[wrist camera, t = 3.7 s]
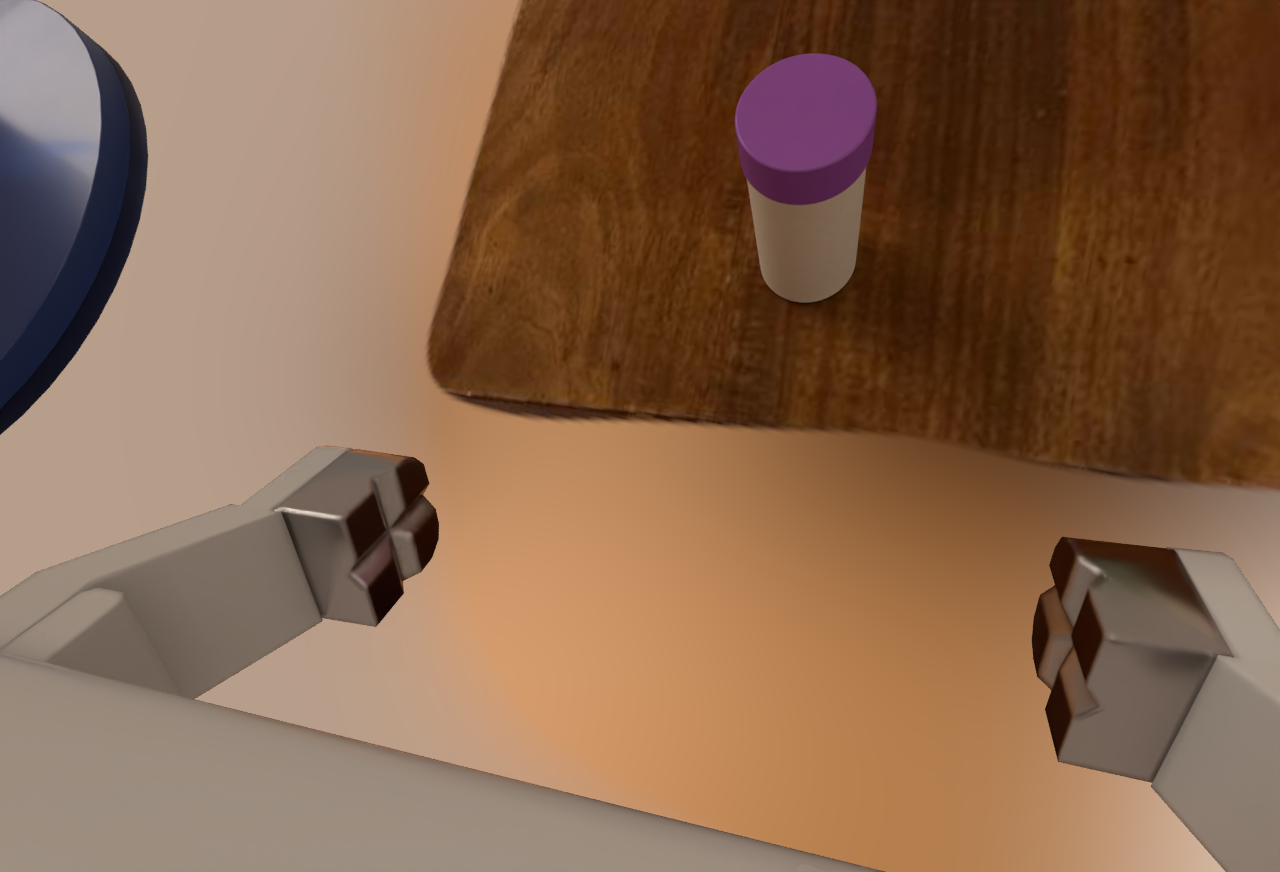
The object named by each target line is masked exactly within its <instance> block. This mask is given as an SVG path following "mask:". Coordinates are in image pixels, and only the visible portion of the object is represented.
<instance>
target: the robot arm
mask: <svg viewBox="0 0 1280 872" xmlns="http://www.w3.org/2000/svg"><path fill="white" fill-rule="evenodd" d="M428 485H429V481H428V478H427V474H426V471H425V467H424V464H423V463H421V462H420V461H419V460H417V459H416V458H414V457H407V456H400V455H393V454H387V453H380V452H373V451H366V450H359V449H355V450H354V449H351V448H344V447H335V446H322V447H316V448H315V449H313V450H312V451H311V452H309V453H308V454H307V455H306V456H304V457H303V458H302V459H300V460H299V461H298V462H297V463H295V464H294V465H293V466H291V467H290V468H289V469H287V470H286V471H285V472H283V473H282V474H281V475H279V476H278V477H277V478H276V479H274V480H273V481H272V482H270V483H269V484H268V485H266V486H265V487H264V488H262V489H261V490H260V491H258V492H257V493H256V494H255V495H253V496H252V497H251V498H249V499H248V500H247V501H245V502H244V503H243V504H241V505H233V504H230V505H227V506H225V507H222V508H219V509H216V510H213V511H211V512H208V513H204V514H202V515H199V516H196V517H193V518H190V519H187V520H184V521H181V522H179V523H176V524H173V525H170V526H167V527H165V528H161V529H159V530H156V531H153V532H150V533H147V534H144V535H141V536H138V537H136V538H133V539H130V540H127V541H124V542H121V543H118V544H116V545H112V546H110V547H107V548H104V549H101V550H98V551H95V552H92V553H90V554H87V555H84V556H81V557H78V558H75V559H73V560H69V561H67V562H64V563H61V564H58V565H55V566H52V567H49V568H47V569H44V570H41V571H38V572H36V573H34V574H33V575H31V576H30V577H28V578H27V579H25V580H24V581H22V582H21V583H19V584H18V585H16V586H15V587H13V588H12V589H10V590H9V591H7V592H6V593H4V594H3V595H1V596H0V872H884V871H880V870H876V869H872V868H868V867H864V866H860V865H856V864H852V863H848V862H844V861H840V860H835V859H831V858H828V857H824V856H819V855H815V854H811V853H807V852H803V851H799V850H795V849H791V848H787V847H783V846H779V845H775V844H771V843H767V842H763V841H759V840H755V839H751V838H747V837H743V836H739V835H735V834H731V833H727V832H723V831H719V830H715V829H711V828H707V827H703V826H699V825H694V824H691V823H687V822H683V821H679V820H674V819H671V818H667V817H663V816H659V815H655V814H651V813H647V812H643V811H639V810H634V809H631V808H627V807H622V806H619V805H614V804H611V803H607V802H603V801H598V800H595V799H590V798H587V797H582V796H579V795H575V794H571V793H567V792H563V791H559V790H555V789H551V788H547V787H543V786H539V785H535V784H531V783H527V782H522V781H519V780H515V779H511V778H507V777H502V776H499V775H495V774H491V773H487V772H483V771H479V770H475V769H471V768H467V767H463V766H459V765H454V764H451V763H447V762H443V761H439V760H435V759H431V758H427V757H423V756H419V755H415V754H411V753H407V752H402V751H399V750H395V749H391V748H387V747H382V746H379V745H375V744H371V743H367V742H363V741H359V740H355V739H351V738H346V737H343V736H339V735H335V734H331V733H327V732H323V731H319V730H315V729H311V728H307V727H303V726H298V725H295V724H290V723H287V722H282V721H279V720H275V719H271V718H267V717H263V716H259V715H255V714H251V713H247V712H243V711H239V710H235V709H231V708H227V707H223V706H219V705H215V704H211V703H206V702H202V701H198V700H195V698H197V697H198V696H200V695H202V694H203V693H205V692H206V691H208V690H210V689H211V688H213V687H215V686H216V685H218V684H220V683H221V682H223V681H225V680H226V679H228V678H230V677H231V676H233V675H235V674H236V673H238V672H239V671H241V670H243V669H244V668H246V667H248V666H249V665H251V664H253V663H254V662H256V661H258V660H259V659H261V658H263V657H264V656H266V655H267V654H269V653H271V652H272V651H274V650H276V649H277V648H279V647H281V646H282V645H284V644H286V643H287V642H289V641H290V640H292V639H294V638H295V637H297V636H299V635H300V634H302V633H304V632H305V631H307V630H309V629H310V628H312V627H314V626H315V625H317V624H318V623H320V622H322V618H326V619H332V620H338V621H344V622H350V623H356V624H362V625H368V626H374V627H376V626H377V625H378V624H379V623H380V621H381V620H382V619H383V618H384V617H385V615H386V614H387V613H388V612H389V611H390V609H391V608H392V607H393V606H394V605H395V603H396V602H397V601H398V599H399V598H400V597H401V596H402V595H403V594H404V591H403V581H404V580H406V579H408V578H410V577H412V576H414V575H416V574H418V573H420V572H421V571H422V570H423V569H424V568H425V566H426V565H427V564H428V562H429V561H430V560H431V558H432V556H433V553H434V551H435V548H436V545H437V542H438V535H439V522H438V518H437V513H436V509H435V508H434V507H433V506H432V505H431V503H430V502H429V501H428V500H427V499H426V498H425V497H424V496H423V494H424V492H425V490H426V489H427V486H428ZM1049 566H1050V569H1051V572H1052V576H1053V579H1054V582H1055V586H1053V587H1052V588H1050V589H1049V590H1047V591H1045V592H1044V593H1042V594H1041V595H1040V597H1039V600H1038V604H1037V608H1036V612H1035V616H1034V622H1033V634H1032V648H1033V659H1034V663H1035V668H1036V673H1037V677H1038V678H1039V679H1040V680H1041V681H1043V683H1045V684H1046V685H1047V686H1048V687H1049V688H1050V689H1051V690H1052V691H1051V694H1050V696H1049V699H1048V702H1047V705H1046V708H1045V711H1046V715H1047V718H1048V723H1049V727H1050V731H1051V735H1052V739H1053V743H1054V747H1055V751H1056V755H1057V759H1058V762H1062V763H1066V764H1071V765H1075V766H1080V767H1084V768H1089V769H1094V770H1098V771H1102V772H1107V773H1111V774H1116V775H1120V776H1125V777H1129V778H1134V779H1138V780H1143V781H1147V782H1152V785H1151V787H1152V788H1153V789H1154V791H1155V792H1156V793H1157V794H1158V795H1159V796H1160V797H1161V798H1162V800H1163V801H1164V802H1165V803H1166V804H1167V805H1168V807H1169V808H1170V809H1171V810H1172V811H1173V812H1174V813H1175V814H1176V816H1177V817H1178V818H1179V819H1180V820H1181V821H1182V822H1183V824H1184V825H1185V826H1186V827H1187V828H1188V829H1189V830H1190V832H1191V833H1192V834H1193V835H1194V836H1195V837H1196V838H1197V839H1198V841H1199V842H1200V843H1201V844H1202V845H1203V846H1204V848H1205V849H1206V850H1207V851H1208V852H1209V853H1210V854H1211V855H1212V857H1213V858H1214V859H1215V860H1216V861H1217V862H1218V863H1219V864H1220V865H1221V867H1222V868H1223V869H1224V870H1225V871H1226V872H1280V629H1279V628H1278V626H1277V625H1276V623H1275V622H1274V620H1273V619H1272V617H1271V616H1270V614H1269V613H1268V611H1267V610H1266V608H1265V607H1264V605H1263V604H1262V602H1261V601H1260V599H1259V598H1258V596H1257V595H1256V593H1255V592H1254V590H1253V589H1252V587H1251V585H1250V584H1249V582H1248V581H1247V579H1246V578H1245V576H1244V575H1243V573H1242V572H1241V570H1240V569H1239V567H1238V566H1237V564H1236V563H1235V561H1234V560H1233V559H1232V558H1230V557H1229V556H1227V555H1225V554H1224V553H1221V552H1210V551H1200V550H1189V549H1178V548H1168V547H1167V548H1157V547H1148V546H1139V545H1130V544H1121V543H1112V542H1103V541H1094V540H1086V539H1076V538H1067V537H1062V538H1061V539H1060V541H1059V542H1058V544H1057V545H1056V547H1055V549H1054V553H1053V555H1052V559H1051V562H1050V565H1049Z"/></svg>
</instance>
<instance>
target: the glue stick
mask: <svg viewBox="0 0 1280 872" xmlns="http://www.w3.org/2000/svg"><path fill="white" fill-rule="evenodd" d="M876 112H877V101H876V95H875V91H874V88H873V86H872V84H871V82H870V80H869V79H868V78H867V76H866V75H865V74H864V73H863V72H862V71H861V70H860V69H859V68H858V67H857V66H855V65H854V64H853V63H851V62H849V61H847V60H845V59H842V58H840V57H837V56H833V55H828V54H816V53H811V54H802V55H797V56H792V57H789V58H786V59H783V60H781V61H779V62H776V63H775V64H773V65H771V66H769V67H768V68H766V69H765V70H763V71H762V72H761V73H760V74H758V75H757V76H756V77H755V78H754V79H753V80H752V81H751V82H750V83H749V85H748V86H747V88H746V89H745V90H744V92H743V94H742V96H741V98H740V100H739V103H738V105H737V109H736V113H735V130H736V137H737V143H738V149H739V155H740V161H741V166H742V170H743V172H744V175H745V177H746V178H747V182H748V189H749V195H750V202H751V208H752V215H753V221H754V228H755V234H756V241H757V248H758V254H759V261H760V267H761V272H762V275H763V278H764V280H765V282H766V284H767V285H768V286H769V287H770V289H771V290H773V291H774V292H775V293H776V294H778V295H779V296H781V297H783V298H785V299H788V300H790V301H794V302H802V303H809V302H816V301H820V300H823V299H826V298H828V297H830V296H832V295H834V294H835V293H837V292H838V291H839V290H840V289H841V288H843V287H844V285H845V284H846V283H847V282H848V280H849V279H850V277H851V276H852V274H853V271H854V268H855V264H856V256H857V247H858V238H859V228H860V219H861V210H862V201H863V192H864V182H865V173H866V166H867V164H868V162H869V159H870V156H871V152H872V146H873V138H874V129H875V121H876Z"/></svg>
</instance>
